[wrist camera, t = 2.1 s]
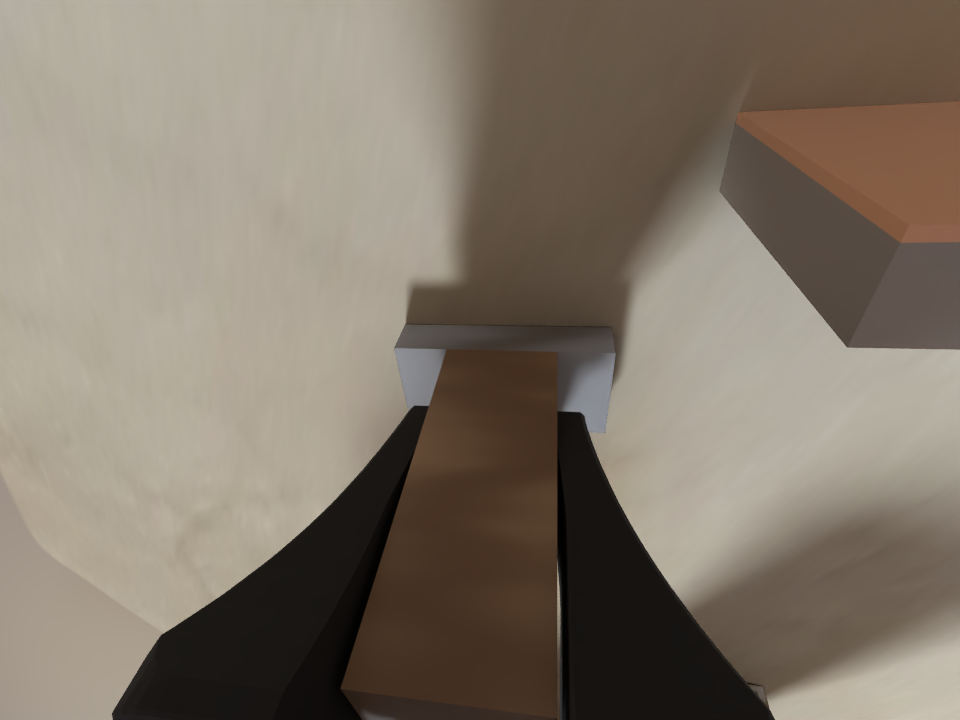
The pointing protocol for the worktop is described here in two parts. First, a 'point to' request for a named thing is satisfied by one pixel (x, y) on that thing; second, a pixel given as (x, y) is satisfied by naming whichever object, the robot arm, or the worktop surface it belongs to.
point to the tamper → (477, 525)
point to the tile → (859, 214)
